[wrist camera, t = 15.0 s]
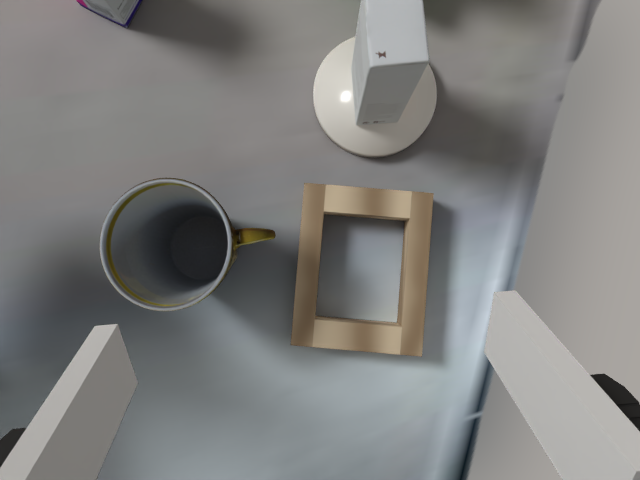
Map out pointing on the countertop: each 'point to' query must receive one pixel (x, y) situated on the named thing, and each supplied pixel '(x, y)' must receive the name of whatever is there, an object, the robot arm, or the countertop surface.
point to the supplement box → (113, 9)
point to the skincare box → (387, 58)
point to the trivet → (339, 110)
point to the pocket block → (413, 278)
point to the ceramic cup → (170, 244)
